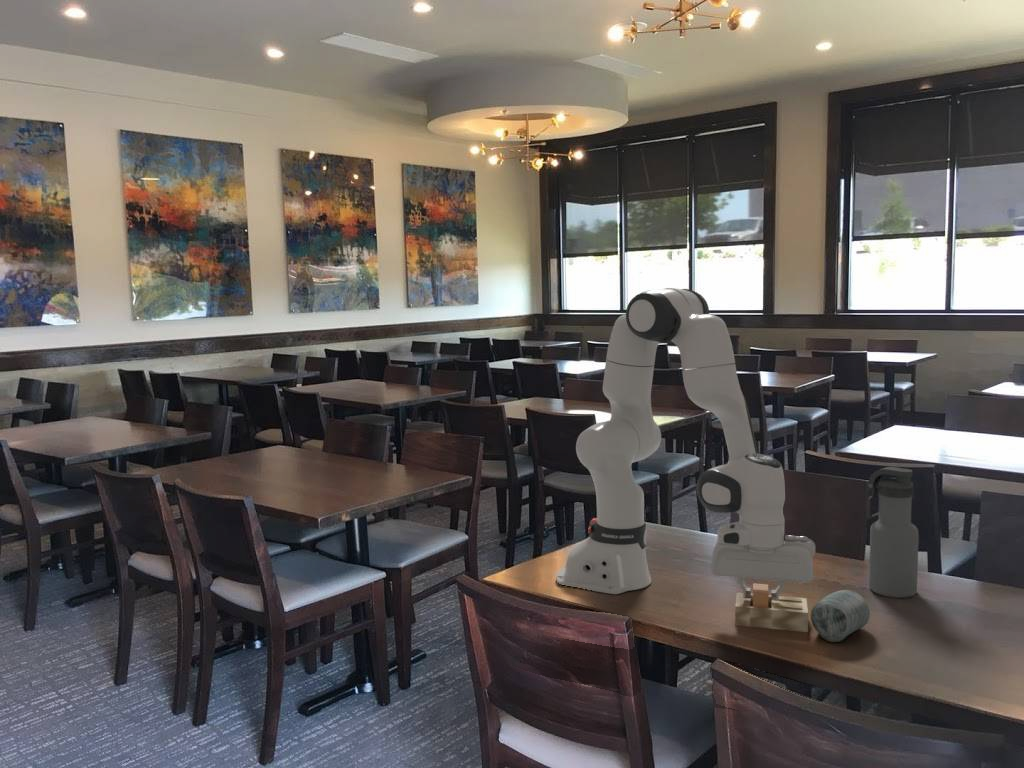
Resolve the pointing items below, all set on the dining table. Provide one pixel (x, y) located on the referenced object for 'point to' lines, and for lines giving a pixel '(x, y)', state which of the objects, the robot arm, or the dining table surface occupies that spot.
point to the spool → (839, 615)
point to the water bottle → (893, 535)
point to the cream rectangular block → (773, 613)
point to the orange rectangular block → (760, 595)
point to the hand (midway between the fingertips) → (760, 598)
